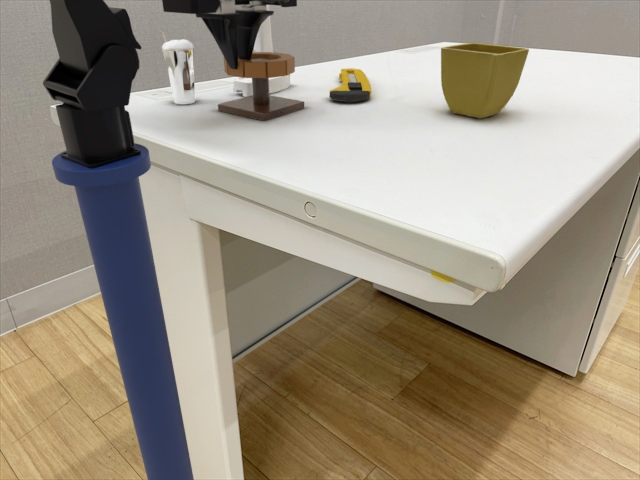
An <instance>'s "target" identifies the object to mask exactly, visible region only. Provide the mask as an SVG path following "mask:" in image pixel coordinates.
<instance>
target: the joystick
mask: <svg viewBox="0 0 640 480" xmlns="http://www.w3.org/2000/svg"><path fill="white" fill-rule="evenodd" d="M266 11H271V9H270V5H266ZM272 33H273V32H272V24H271V16H269V17H268V18H267V19H266V20H265V21H264V22H263V23H262V24H261V26H260V28H259V31H258V34H257V37H256V41H255V45H254V49H253V52H272V53H273V52H274V46H273V35H272ZM232 85H233V92H234V93H242V97H243V98H244V97H248V96H252V95H253V89H252V78H245V77H244V78H242V77H238V79H233V80H232ZM290 87H291V74H289V75H286V76H280V77H272V78H269V95H270V94H274V93H278V92H281V91H284V90H286V89H288V88H290Z"/></svg>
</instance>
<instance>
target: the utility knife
mask: <svg viewBox="0 0 640 480" xmlns="http://www.w3.org/2000/svg"><path fill="white" fill-rule="evenodd" d="M338 76H339V77H338V79H339V81H341V85H340V86H338V87H334V88H333V89H330V90H329V98H330V99H331V100H333V101H338V102H344V103H345V102H351V103H353V102H361V101H366V100H368V99H369V98H371V97H372V87H371V83H370V81H369V78H368V77H367V74H366V73H365V72H364V71H363V70H362V69H359V68H341V69H340V72H339V75H338Z"/></svg>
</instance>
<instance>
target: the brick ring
mask: <svg viewBox="0 0 640 480" xmlns="http://www.w3.org/2000/svg"><path fill="white" fill-rule="evenodd" d="M252 59H267V60H252ZM295 63H296V61H295V56H294V55H292V54H290V53H283V52H274V51H273V53H272V52H254V51H253V52H252V56H251V60H243V59H239V57H238V68H237V69H231V68H230V67H229V65H228V63H227V61H226V59H225V58H224V57H223V69H224V73H225V74H226V75H227V76H230V77H237V78H239V77H242V78H244V77H245V78H266V77H267V78H272V77H280V76H286V75H289V74H290V75H292V74H293V73H295V72H296V64H295Z"/></svg>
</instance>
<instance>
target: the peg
mask: <svg viewBox="0 0 640 480" xmlns="http://www.w3.org/2000/svg"><path fill="white" fill-rule="evenodd" d="M252 60H267V59H252ZM252 89H253V95H252V96H248V97H244V96H243V97H241V98H237V99H233V100H228V101H225V102H220V103H218V104H217V110H218V112H221V113H227V114H231V115H235V116H240V117H243V118H248V119H254V120H257V121H263V122H264V121H268V120H270V119H274V118H278V117H280V116H284V115H287V114H290V113H293V112H296V111H299V110H303V109H305V101H304V100H299V99H292V98H288V97H283V96H277V95H270V94H269V78H267V77H266V78H252Z"/></svg>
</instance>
